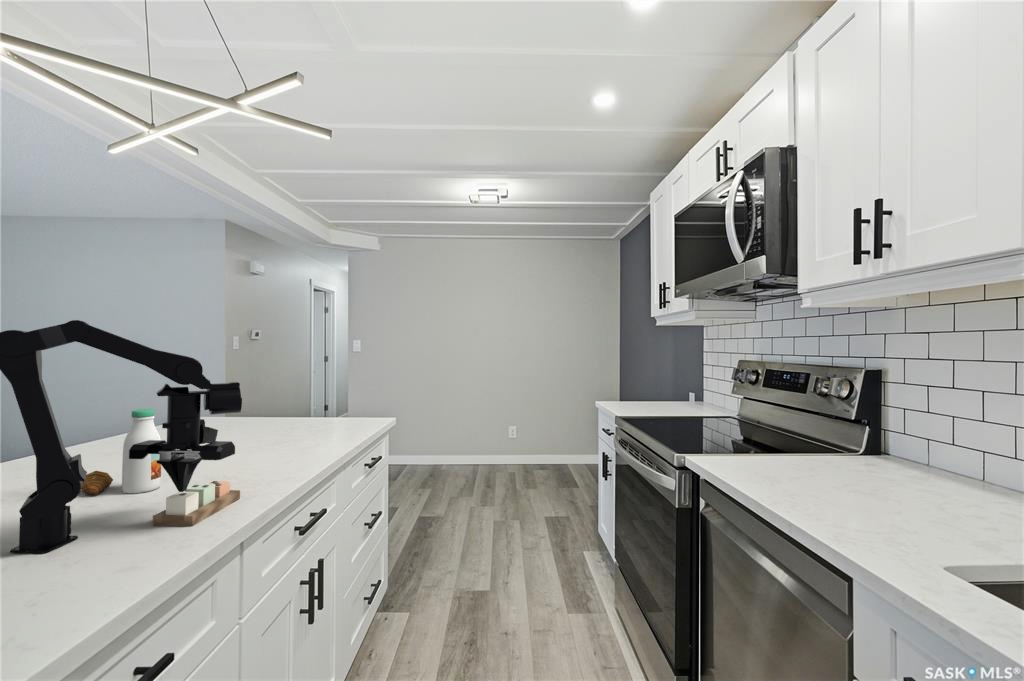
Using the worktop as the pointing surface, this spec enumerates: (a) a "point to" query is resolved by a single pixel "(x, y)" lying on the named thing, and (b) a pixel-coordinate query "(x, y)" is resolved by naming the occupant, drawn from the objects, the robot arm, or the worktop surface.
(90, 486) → the croissant
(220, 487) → the key three
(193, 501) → the key one
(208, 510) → the board
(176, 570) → the worktop surface
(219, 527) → the worktop surface
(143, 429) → the milk bottle
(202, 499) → the key two
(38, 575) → the worktop surface
